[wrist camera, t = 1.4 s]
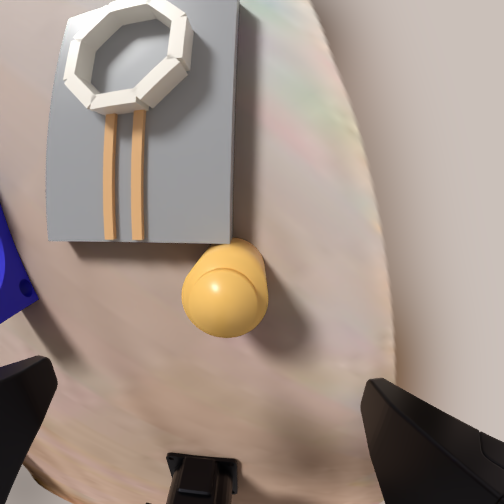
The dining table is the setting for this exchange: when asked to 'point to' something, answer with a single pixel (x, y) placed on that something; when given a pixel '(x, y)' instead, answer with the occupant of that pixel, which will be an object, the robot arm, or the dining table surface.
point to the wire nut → (227, 290)
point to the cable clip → (12, 276)
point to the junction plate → (144, 124)
